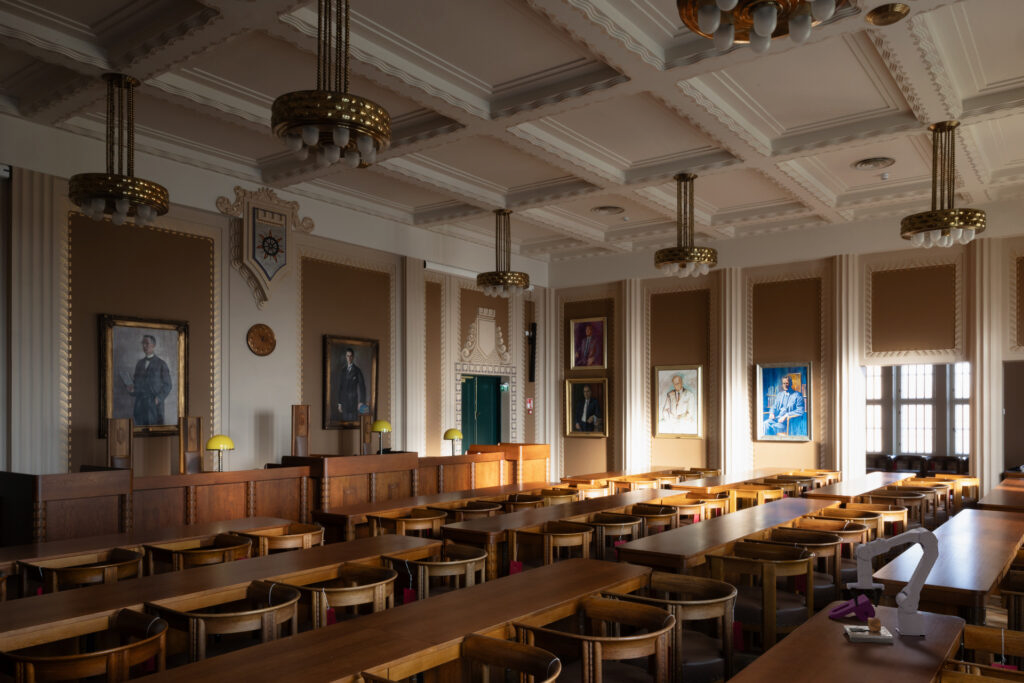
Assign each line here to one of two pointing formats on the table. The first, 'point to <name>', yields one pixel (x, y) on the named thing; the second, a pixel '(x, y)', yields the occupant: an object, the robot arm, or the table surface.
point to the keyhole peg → (874, 624)
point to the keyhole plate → (868, 634)
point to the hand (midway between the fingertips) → (866, 606)
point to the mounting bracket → (854, 609)
